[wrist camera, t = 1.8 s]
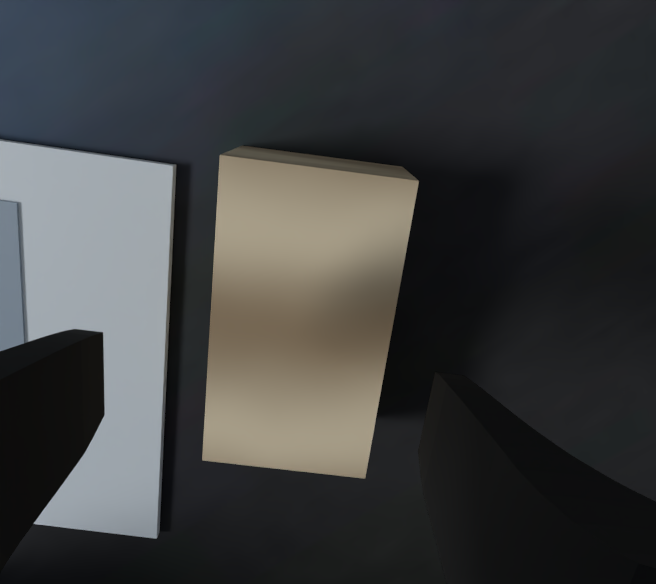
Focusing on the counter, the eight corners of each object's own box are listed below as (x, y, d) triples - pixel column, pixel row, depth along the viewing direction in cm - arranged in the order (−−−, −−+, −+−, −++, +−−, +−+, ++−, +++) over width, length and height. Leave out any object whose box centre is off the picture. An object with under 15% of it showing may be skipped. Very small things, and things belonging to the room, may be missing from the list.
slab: (359, 413, 22) (365, 478, 18) (225, 398, 21) (202, 460, 18) (401, 165, 18) (419, 180, 15) (243, 145, 18) (219, 154, 14)
